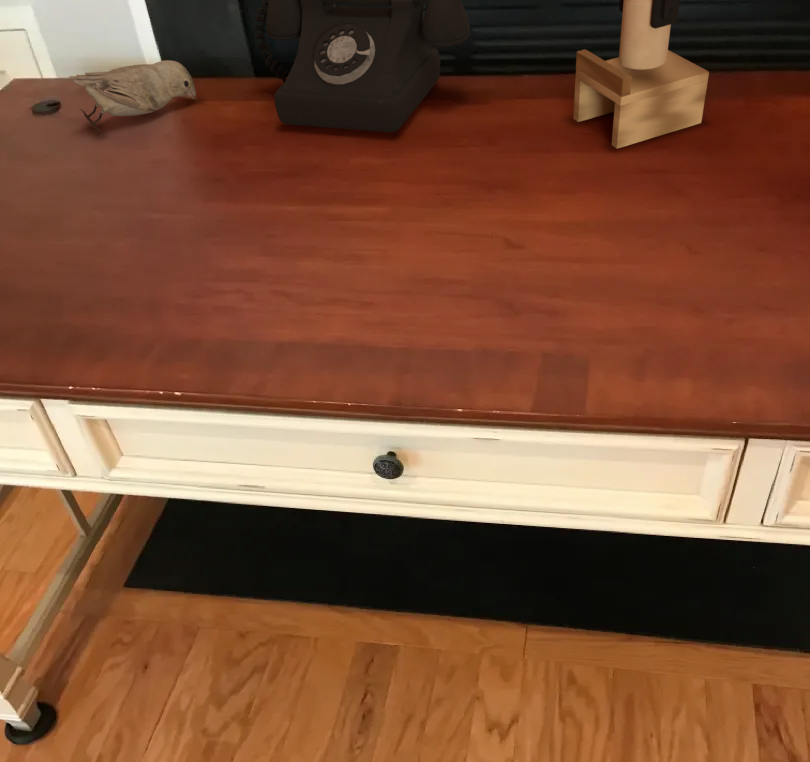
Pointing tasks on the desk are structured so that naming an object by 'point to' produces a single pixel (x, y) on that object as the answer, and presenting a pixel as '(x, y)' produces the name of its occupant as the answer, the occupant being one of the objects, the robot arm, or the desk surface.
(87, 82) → the decorative bird
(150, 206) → the desk surface
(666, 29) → the candle
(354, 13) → the rotary telephone
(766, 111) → the desk surface
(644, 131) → the wooden stand
